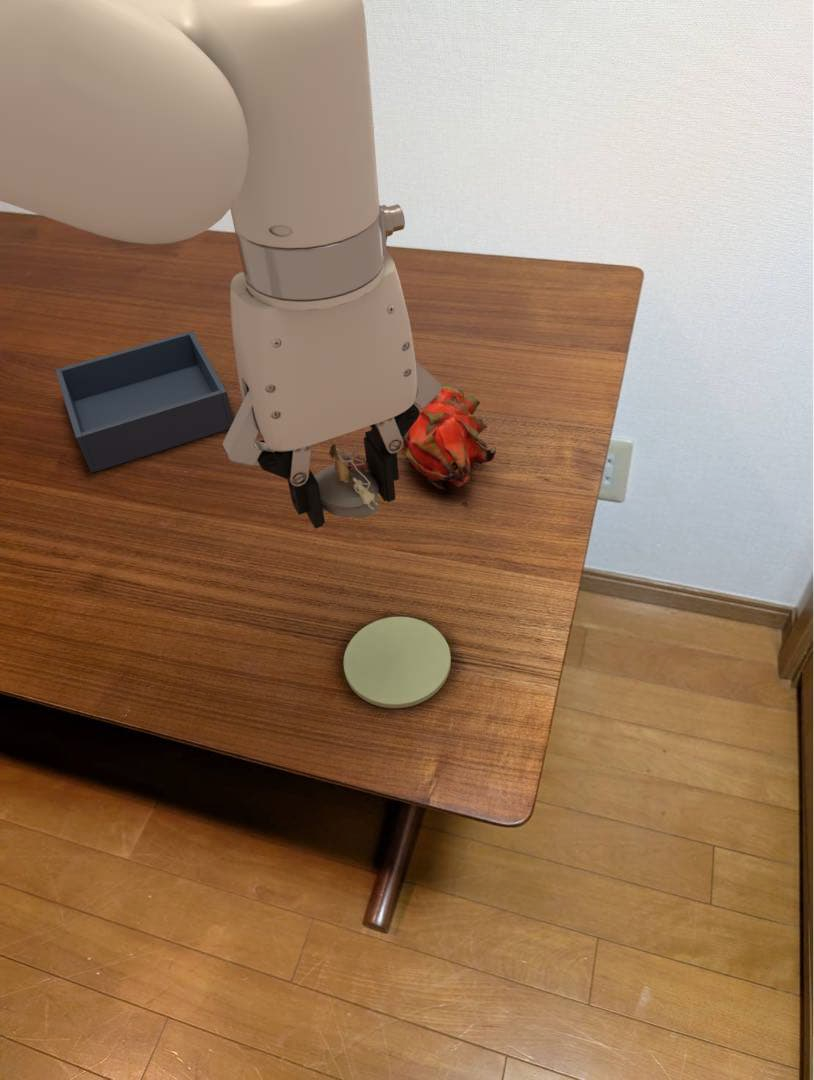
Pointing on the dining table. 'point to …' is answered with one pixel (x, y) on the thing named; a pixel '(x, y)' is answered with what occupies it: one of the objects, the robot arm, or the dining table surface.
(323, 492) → the figurine
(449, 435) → the dragon fruit
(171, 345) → the basket
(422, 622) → the mat
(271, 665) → the dining table surface
